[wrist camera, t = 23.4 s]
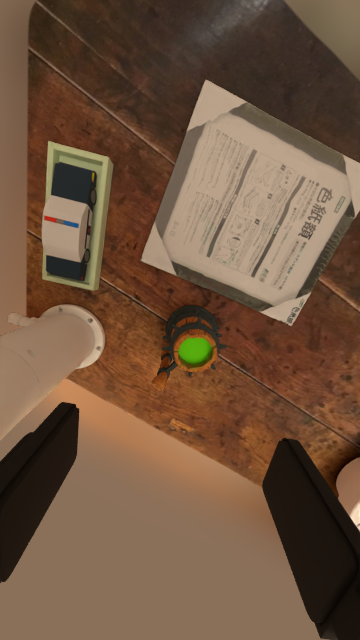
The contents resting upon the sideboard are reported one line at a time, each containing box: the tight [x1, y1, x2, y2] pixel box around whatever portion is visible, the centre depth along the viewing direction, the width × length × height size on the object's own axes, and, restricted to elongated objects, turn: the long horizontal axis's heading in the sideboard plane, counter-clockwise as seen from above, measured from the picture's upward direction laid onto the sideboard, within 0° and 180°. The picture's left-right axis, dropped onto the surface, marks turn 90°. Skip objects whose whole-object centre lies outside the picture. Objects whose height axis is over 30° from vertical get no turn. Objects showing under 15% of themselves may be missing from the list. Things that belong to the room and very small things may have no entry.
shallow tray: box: [42, 141, 113, 291], centre depth 31 cm, size 9×20×2 cm, turn 167°
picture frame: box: [140, 80, 360, 326], centre depth 31 cm, size 26×1×30 cm
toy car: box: [42, 162, 97, 281], centre depth 28 cm, size 5×16×5 cm, turn 167°
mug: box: [152, 305, 227, 391], centre depth 31 cm, size 13×10×12 cm
